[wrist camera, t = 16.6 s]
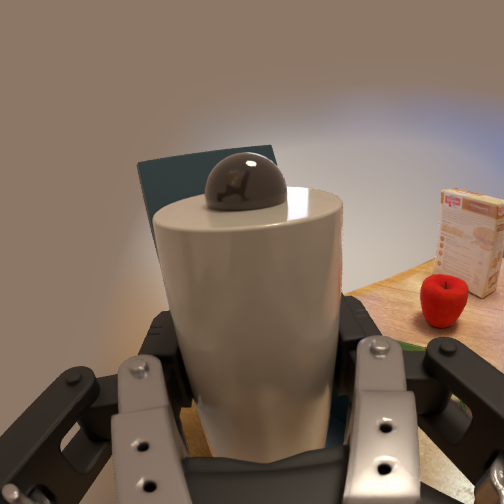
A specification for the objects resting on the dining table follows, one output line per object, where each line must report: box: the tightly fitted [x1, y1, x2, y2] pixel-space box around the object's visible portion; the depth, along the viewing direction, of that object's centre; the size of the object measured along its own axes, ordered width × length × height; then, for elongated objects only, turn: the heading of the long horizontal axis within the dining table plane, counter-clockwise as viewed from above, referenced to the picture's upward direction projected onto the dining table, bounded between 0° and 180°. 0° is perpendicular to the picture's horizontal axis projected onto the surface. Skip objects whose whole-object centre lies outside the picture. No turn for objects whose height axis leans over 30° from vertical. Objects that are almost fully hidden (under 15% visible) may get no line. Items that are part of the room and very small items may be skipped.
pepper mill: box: [152, 153, 343, 463], centre depth 9 cm, size 5×5×12 cm
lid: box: [137, 145, 277, 262], centre depth 29 cm, size 16×14×1 cm
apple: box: [420, 274, 469, 328], centre depth 46 cm, size 9×9×8 cm
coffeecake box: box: [433, 188, 504, 298], centre depth 54 cm, size 15×7×20 cm, turn 21°
